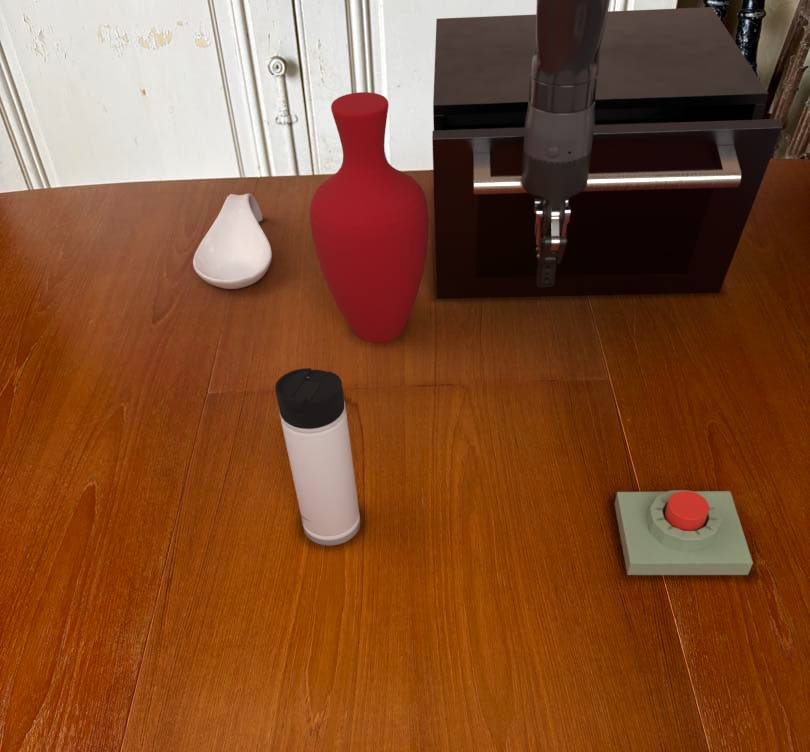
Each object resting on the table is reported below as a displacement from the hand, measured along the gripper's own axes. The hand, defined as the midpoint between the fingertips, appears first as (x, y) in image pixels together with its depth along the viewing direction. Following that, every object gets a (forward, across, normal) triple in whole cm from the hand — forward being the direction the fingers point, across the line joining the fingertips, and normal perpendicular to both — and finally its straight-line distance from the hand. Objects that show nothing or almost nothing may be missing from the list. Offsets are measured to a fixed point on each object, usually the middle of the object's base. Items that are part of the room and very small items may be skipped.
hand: (544, 283), depth 103 cm
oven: (+9, +29, -6) cm, 31 cm away
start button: (+5, -35, -12) cm, 38 cm away
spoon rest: (+9, +24, +45) cm, 52 cm away
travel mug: (+9, -33, +25) cm, 43 cm away
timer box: (+9, -35, -12) cm, 38 cm away
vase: (+9, +4, +22) cm, 24 cm away
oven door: (+10, +9, -6) cm, 14 cm away
